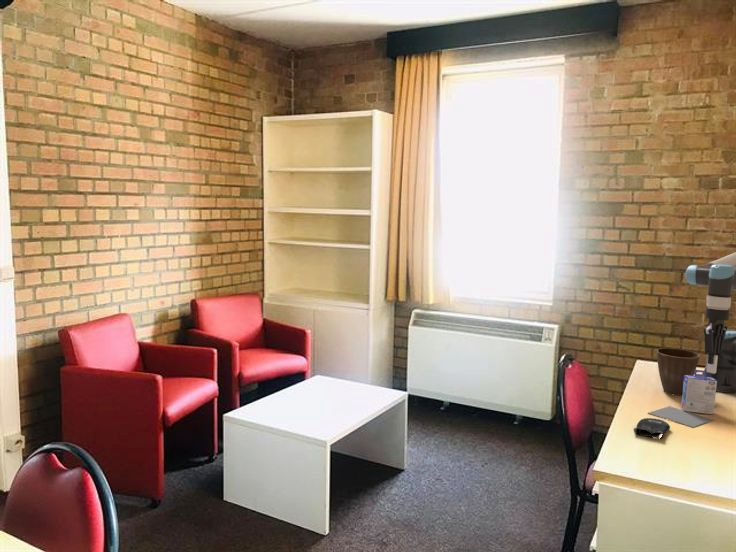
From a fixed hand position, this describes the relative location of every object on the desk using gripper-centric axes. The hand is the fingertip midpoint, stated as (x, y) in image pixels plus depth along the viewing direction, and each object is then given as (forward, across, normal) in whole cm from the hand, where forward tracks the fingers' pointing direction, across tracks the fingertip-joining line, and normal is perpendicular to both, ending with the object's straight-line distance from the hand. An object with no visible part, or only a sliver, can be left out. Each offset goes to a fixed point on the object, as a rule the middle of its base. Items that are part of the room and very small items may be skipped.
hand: (711, 372), depth 230 cm
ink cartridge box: (+13, +8, 0) cm, 15 cm away
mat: (+13, +19, 0) cm, 23 cm away
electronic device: (+14, +41, +2) cm, 43 cm away
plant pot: (+13, -7, -16) cm, 23 cm away
